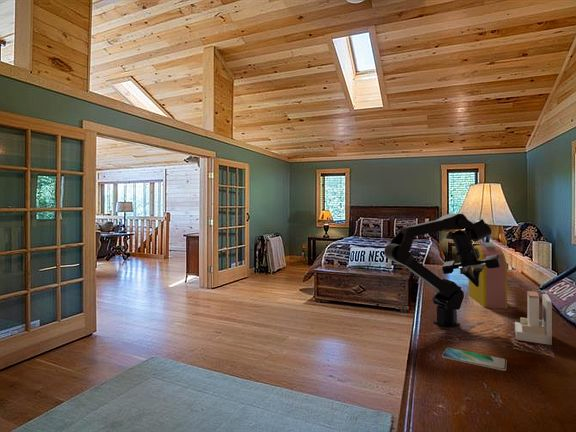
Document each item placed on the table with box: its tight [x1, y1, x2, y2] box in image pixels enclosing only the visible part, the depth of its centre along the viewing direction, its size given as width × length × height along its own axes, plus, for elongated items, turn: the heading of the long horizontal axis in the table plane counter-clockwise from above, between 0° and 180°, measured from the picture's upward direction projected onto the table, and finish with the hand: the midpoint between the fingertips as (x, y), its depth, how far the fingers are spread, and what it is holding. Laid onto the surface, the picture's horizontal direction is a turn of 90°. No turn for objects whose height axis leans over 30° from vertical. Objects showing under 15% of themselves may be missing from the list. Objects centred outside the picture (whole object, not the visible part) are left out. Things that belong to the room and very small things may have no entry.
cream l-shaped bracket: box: [514, 293, 553, 346], centre depth 110 cm, size 9×11×13 cm
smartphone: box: [441, 347, 508, 371], centre depth 93 cm, size 7×1×15 cm
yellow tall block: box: [468, 242, 508, 309], centre depth 153 cm, size 21×9×26 cm, turn 168°
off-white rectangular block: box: [526, 290, 540, 327], centre depth 109 cm, size 2×7×11 cm, turn 149°
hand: (477, 286), depth 125 cm, fingers closed
